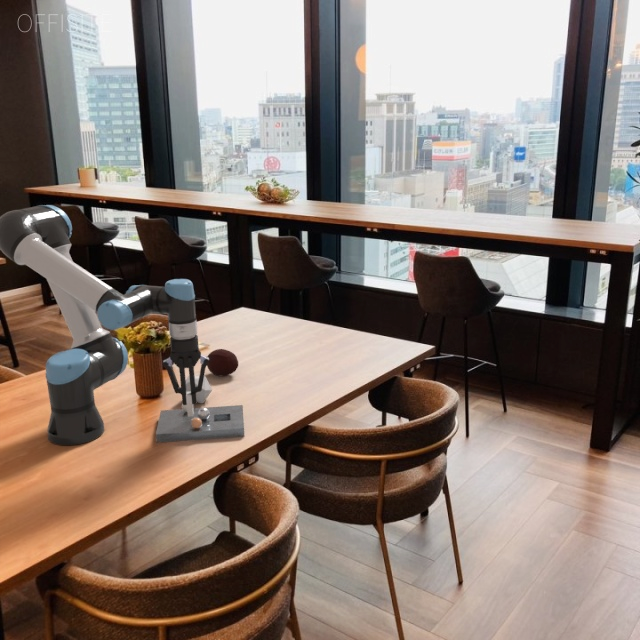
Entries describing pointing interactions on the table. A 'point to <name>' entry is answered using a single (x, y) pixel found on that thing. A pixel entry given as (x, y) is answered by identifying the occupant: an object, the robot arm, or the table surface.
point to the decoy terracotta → (196, 423)
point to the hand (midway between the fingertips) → (190, 414)
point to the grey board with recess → (215, 426)
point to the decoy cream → (184, 407)
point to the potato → (222, 362)
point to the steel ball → (203, 413)
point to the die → (204, 392)
